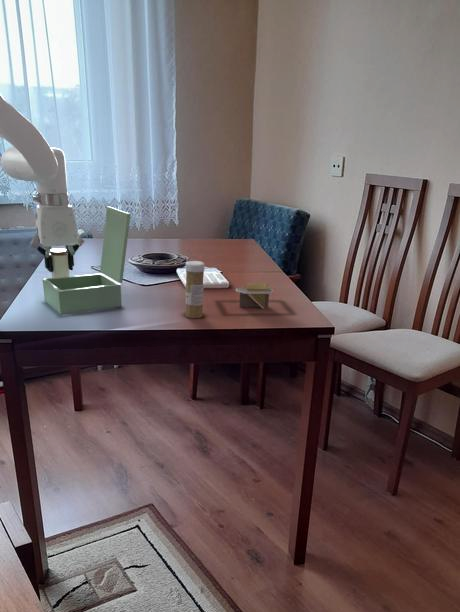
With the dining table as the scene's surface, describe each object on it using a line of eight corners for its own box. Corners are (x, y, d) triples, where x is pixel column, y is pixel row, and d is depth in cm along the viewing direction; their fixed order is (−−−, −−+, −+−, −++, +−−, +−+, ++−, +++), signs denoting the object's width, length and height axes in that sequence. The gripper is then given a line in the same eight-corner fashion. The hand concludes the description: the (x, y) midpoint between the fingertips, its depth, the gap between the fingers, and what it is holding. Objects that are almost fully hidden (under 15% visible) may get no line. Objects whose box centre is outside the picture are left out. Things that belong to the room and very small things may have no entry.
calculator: (185, 289, 162) (185, 282, 161) (175, 272, 179) (175, 266, 178) (230, 288, 165) (230, 282, 164) (216, 272, 182) (216, 266, 181)
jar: (56, 293, 152) (52, 252, 147) (50, 288, 156) (46, 249, 151) (73, 291, 155) (69, 251, 149) (67, 287, 158) (64, 247, 153)
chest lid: (127, 213, 132) (130, 213, 133) (106, 206, 142) (110, 206, 142) (119, 282, 138) (122, 283, 139) (100, 271, 148) (103, 271, 148)
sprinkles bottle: (184, 313, 141) (184, 260, 135) (202, 313, 142) (203, 260, 136) (186, 319, 137) (186, 264, 131) (204, 318, 138) (205, 264, 132)
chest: (60, 317, 134) (58, 291, 131) (45, 303, 143) (42, 278, 140) (121, 309, 142) (120, 284, 139) (103, 296, 151) (101, 273, 148)
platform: (292, 314, 144) (295, 290, 141) (225, 315, 141) (226, 290, 138) (280, 301, 155) (283, 278, 152) (217, 302, 152) (218, 278, 149)
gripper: (24, 203, 137) (32, 276, 145) (90, 201, 146) (94, 270, 154) (16, 199, 143) (24, 269, 151) (80, 197, 151) (85, 264, 160)
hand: (60, 269), depth 152 cm, fingers closed on jar, 4 cm apart
